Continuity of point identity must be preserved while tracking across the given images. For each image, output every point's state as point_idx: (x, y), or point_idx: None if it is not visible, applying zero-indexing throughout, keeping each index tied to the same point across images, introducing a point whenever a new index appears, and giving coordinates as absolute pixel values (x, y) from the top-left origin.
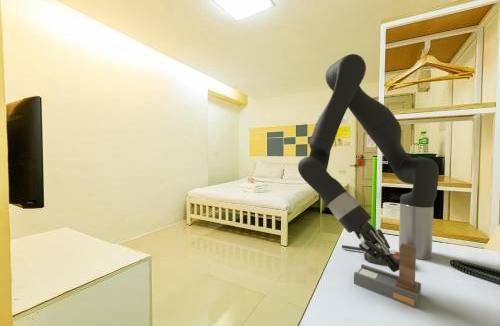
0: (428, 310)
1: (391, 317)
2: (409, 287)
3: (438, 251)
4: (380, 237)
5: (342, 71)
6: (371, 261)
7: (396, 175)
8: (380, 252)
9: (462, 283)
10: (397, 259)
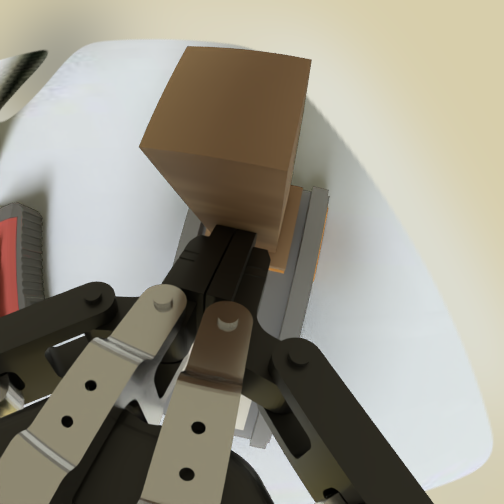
0: (312, 173)
1: (420, 289)
2: (294, 210)
3: None
4: (81, 398)
5: None
6: None
7: None
8: (341, 382)
9: (91, 85)
10: (21, 245)
